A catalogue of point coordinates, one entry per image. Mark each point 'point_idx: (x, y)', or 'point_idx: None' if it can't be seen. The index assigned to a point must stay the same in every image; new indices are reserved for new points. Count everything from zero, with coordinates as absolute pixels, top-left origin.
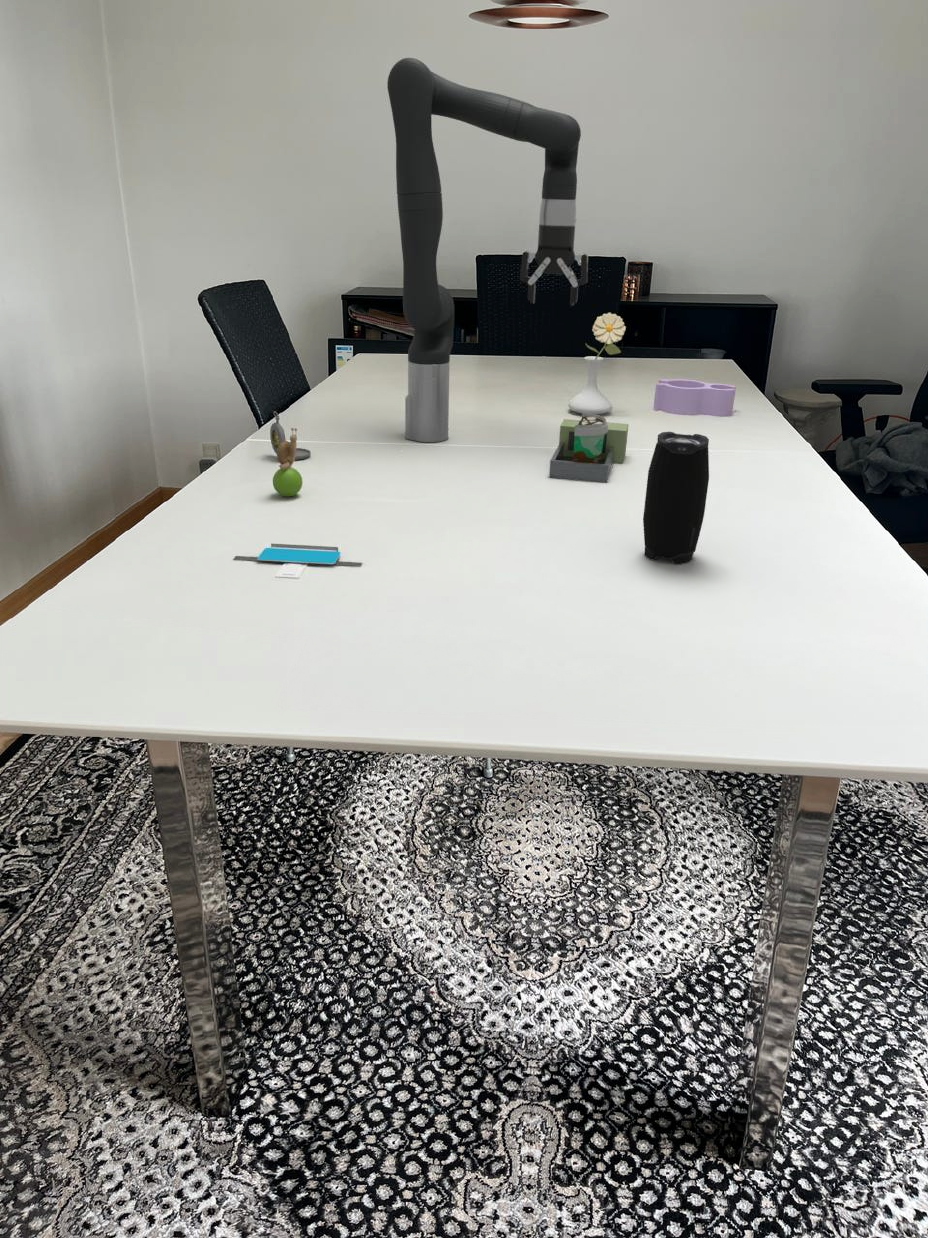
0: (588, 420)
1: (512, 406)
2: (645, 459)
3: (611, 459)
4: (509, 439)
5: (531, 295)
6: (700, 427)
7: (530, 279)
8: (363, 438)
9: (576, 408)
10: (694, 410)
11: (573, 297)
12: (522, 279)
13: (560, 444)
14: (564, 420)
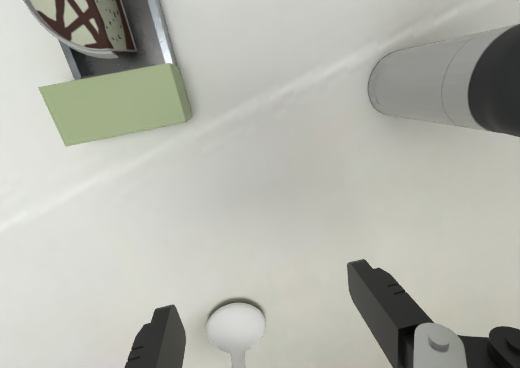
0: (80, 18)
1: (334, 296)
2: (56, 130)
3: None
4: (285, 137)
5: (376, 280)
6: (76, 328)
7: (455, 355)
8: (484, 30)
9: (247, 305)
10: None
11: (147, 342)
12: (510, 334)
13: (165, 48)
14: (180, 110)
